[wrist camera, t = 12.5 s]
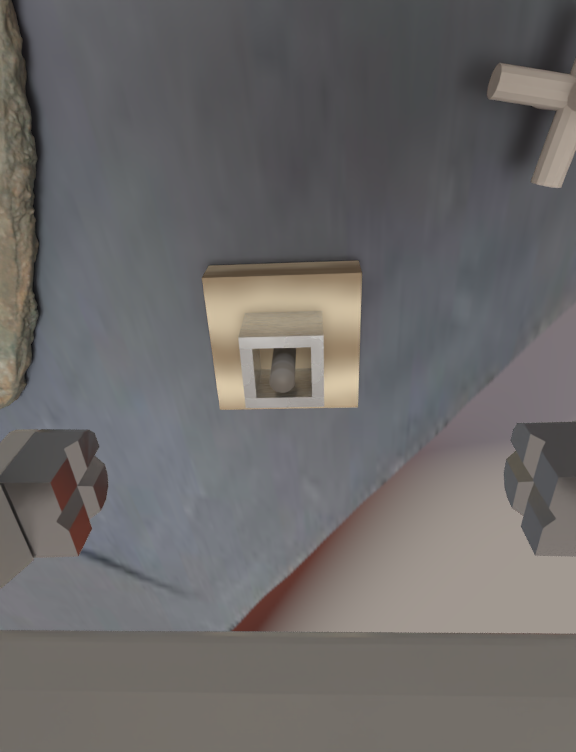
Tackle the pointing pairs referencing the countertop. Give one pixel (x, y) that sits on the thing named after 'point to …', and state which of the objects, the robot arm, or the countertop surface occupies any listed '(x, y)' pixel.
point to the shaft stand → (286, 294)
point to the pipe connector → (550, 92)
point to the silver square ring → (282, 334)
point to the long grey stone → (15, 213)
